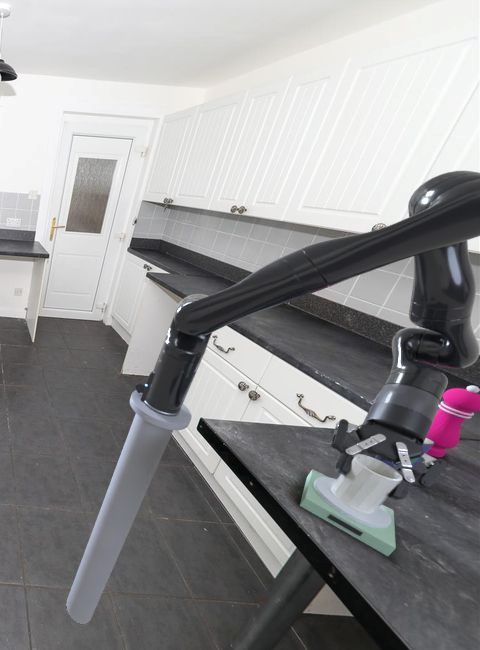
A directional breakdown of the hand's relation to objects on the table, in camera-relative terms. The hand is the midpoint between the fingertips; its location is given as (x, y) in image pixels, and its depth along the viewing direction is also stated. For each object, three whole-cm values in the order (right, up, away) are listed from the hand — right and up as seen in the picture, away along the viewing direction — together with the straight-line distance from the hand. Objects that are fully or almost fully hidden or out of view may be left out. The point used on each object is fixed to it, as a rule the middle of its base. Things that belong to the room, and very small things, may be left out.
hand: (366, 485), depth 63 cm
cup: (+1, -5, +3) cm, 6 cm away
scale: (0, -8, +4) cm, 9 cm away
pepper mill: (+45, -4, +25) cm, 51 cm away
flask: (+27, -5, +17) cm, 32 cm away
